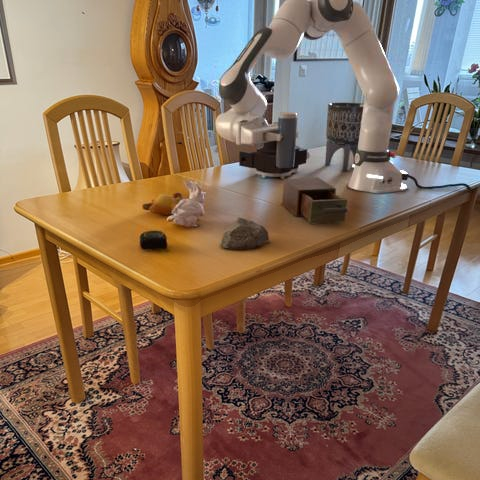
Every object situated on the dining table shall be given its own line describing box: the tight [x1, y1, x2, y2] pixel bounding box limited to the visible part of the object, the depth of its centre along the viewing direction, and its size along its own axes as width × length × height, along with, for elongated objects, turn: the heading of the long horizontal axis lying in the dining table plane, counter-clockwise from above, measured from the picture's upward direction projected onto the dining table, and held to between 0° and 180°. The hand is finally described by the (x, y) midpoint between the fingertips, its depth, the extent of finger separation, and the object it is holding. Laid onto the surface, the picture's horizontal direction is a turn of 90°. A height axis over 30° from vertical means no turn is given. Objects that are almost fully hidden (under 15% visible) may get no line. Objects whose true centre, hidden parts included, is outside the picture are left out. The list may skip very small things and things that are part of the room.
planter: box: [324, 102, 364, 172], centre depth 204 cm, size 20×20×26 cm
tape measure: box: [139, 229, 168, 251], centre depth 117 cm, size 7×7×4 cm
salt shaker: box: [276, 111, 298, 168], centre depth 136 cm, size 6×6×15 cm
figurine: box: [166, 178, 207, 227], centre depth 132 cm, size 8×15×13 cm, turn 145°
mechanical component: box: [238, 121, 311, 180], centre depth 191 cm, size 22×21×30 cm
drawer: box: [299, 191, 349, 225], centre depth 138 cm, size 18×11×7 cm, turn 14°
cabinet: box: [282, 177, 337, 218], centre depth 149 cm, size 14×12×8 cm
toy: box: [141, 192, 183, 216], centre depth 144 cm, size 11×6×15 cm
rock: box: [220, 217, 270, 251], centre depth 120 cm, size 13×9×6 cm, turn 131°
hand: (289, 136), depth 135 cm, fingers closed on salt shaker, 5 cm apart
